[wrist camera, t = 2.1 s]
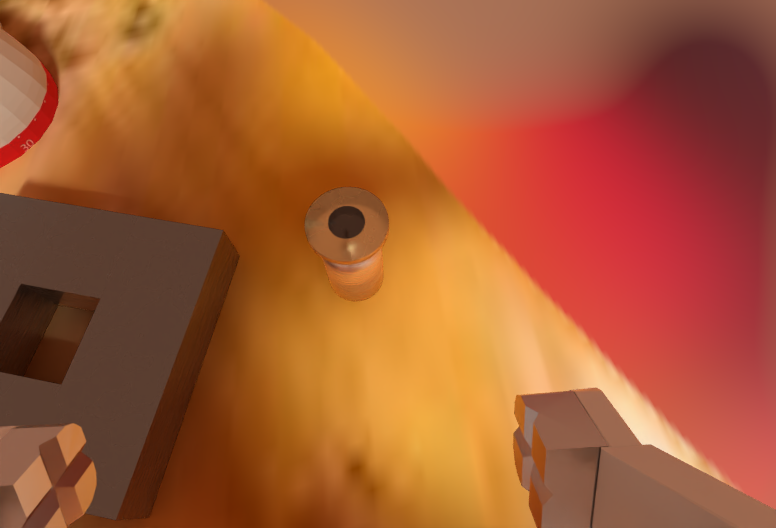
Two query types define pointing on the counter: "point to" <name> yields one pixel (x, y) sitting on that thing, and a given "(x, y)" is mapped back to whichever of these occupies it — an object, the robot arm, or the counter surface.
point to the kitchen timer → (23, 99)
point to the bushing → (349, 240)
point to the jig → (110, 333)
